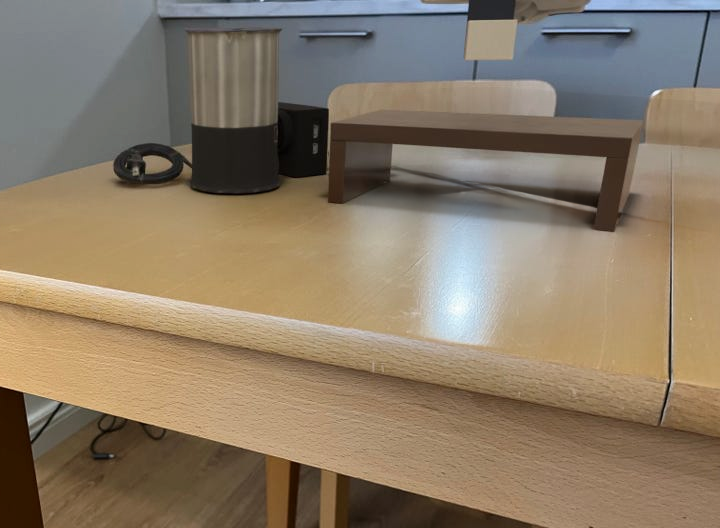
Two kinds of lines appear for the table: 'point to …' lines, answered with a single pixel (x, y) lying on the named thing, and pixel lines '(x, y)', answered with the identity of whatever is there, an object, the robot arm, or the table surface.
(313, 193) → the table surface
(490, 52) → the tall dark upright panel
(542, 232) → the table surface
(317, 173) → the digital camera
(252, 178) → the milk frother
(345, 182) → the monitor stand
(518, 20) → the robot arm
